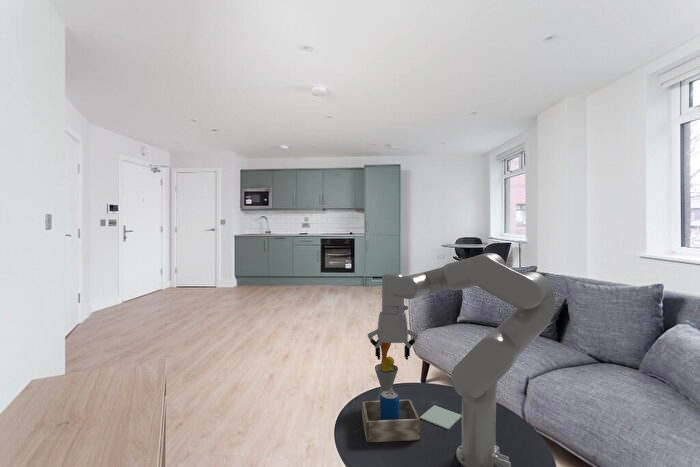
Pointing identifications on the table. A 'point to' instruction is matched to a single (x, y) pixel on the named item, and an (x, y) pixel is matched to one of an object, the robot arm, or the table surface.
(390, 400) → the beverage can
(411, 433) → the box
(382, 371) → the lava lamp
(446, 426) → the green mat
